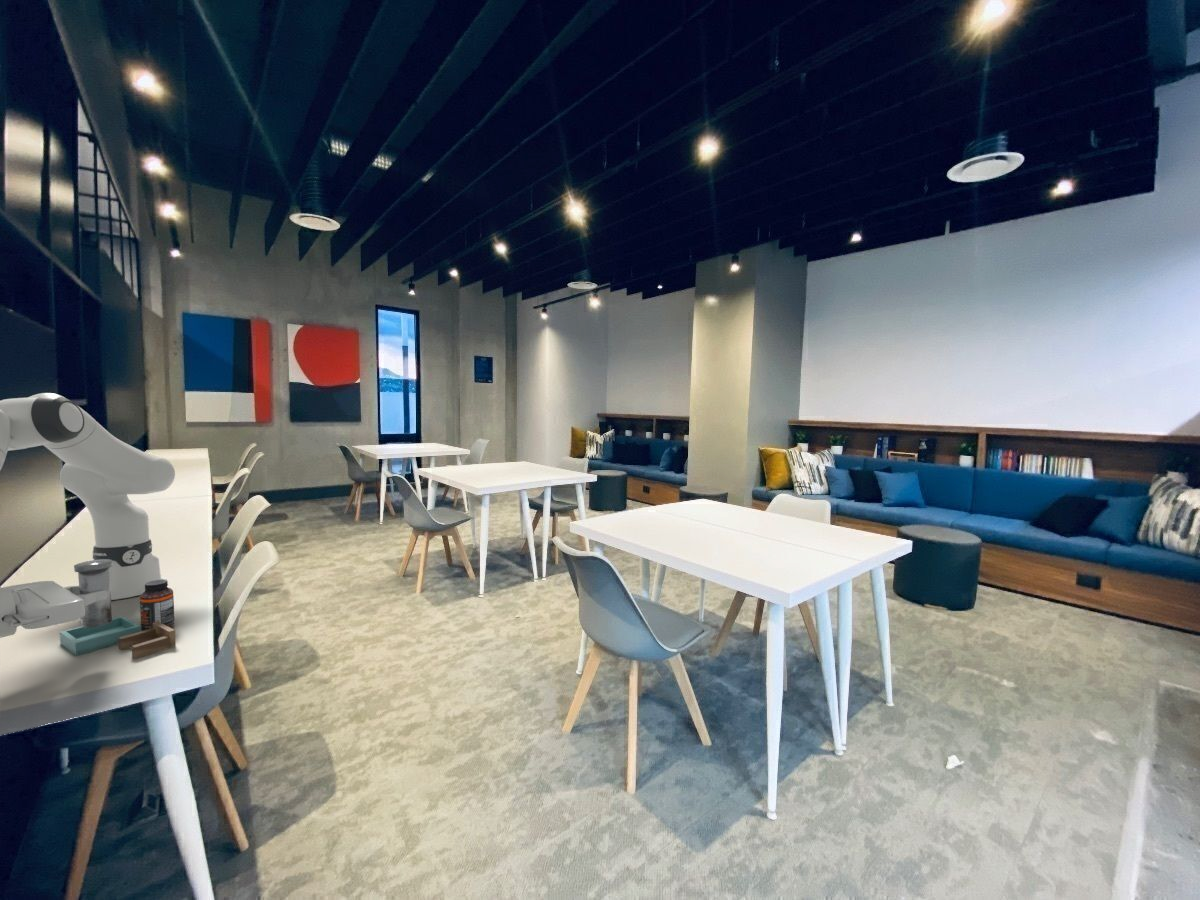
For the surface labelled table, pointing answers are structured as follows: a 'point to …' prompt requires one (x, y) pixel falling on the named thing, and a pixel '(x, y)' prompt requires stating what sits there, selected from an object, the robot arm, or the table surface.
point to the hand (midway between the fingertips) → (101, 590)
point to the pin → (93, 579)
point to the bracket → (149, 640)
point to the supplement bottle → (156, 604)
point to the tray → (97, 635)
